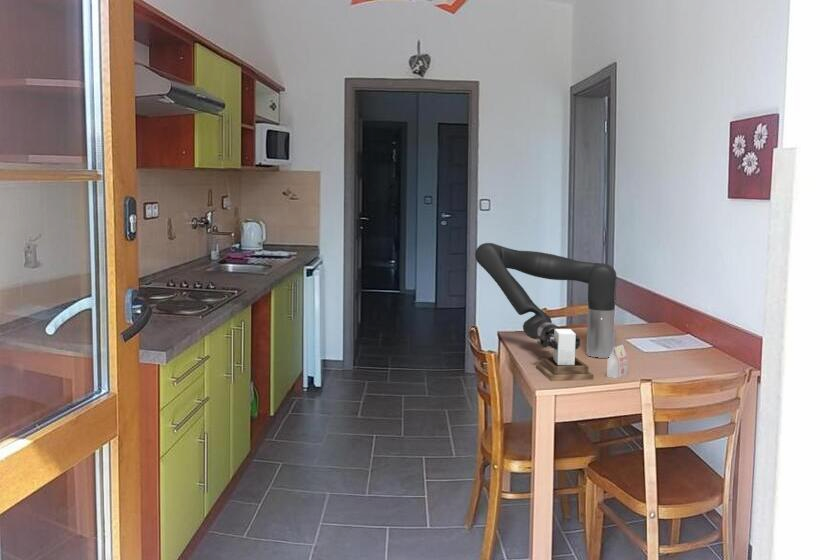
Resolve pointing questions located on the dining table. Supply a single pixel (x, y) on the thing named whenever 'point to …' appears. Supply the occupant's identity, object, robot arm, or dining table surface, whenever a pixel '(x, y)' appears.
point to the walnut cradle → (563, 370)
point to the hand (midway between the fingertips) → (566, 346)
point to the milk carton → (617, 362)
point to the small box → (564, 347)
